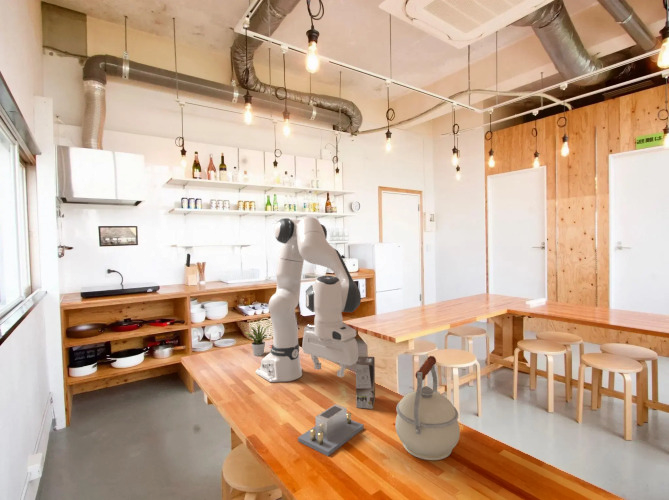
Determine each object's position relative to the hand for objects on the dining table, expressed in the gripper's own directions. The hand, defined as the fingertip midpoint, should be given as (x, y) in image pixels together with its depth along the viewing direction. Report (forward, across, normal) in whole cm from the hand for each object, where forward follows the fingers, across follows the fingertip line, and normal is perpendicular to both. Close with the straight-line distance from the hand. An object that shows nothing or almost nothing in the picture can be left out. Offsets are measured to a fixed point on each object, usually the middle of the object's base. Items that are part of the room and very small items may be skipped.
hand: (328, 372), depth 109 cm
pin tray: (+20, 0, +1) cm, 20 cm away
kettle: (+20, +26, +15) cm, 36 cm away
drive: (+19, 0, +1) cm, 19 cm away
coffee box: (+20, -3, +25) cm, 32 cm away
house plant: (+21, -79, +36) cm, 89 cm away
